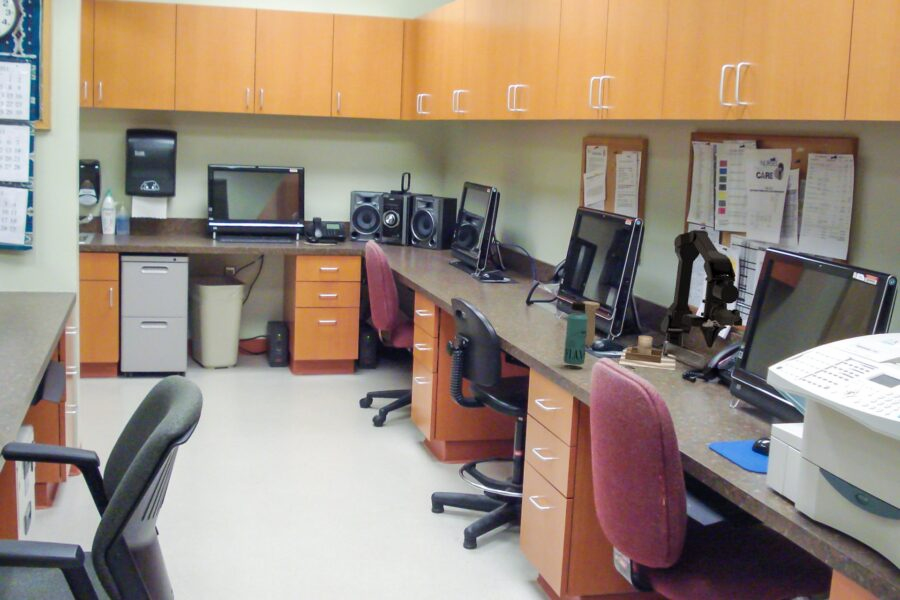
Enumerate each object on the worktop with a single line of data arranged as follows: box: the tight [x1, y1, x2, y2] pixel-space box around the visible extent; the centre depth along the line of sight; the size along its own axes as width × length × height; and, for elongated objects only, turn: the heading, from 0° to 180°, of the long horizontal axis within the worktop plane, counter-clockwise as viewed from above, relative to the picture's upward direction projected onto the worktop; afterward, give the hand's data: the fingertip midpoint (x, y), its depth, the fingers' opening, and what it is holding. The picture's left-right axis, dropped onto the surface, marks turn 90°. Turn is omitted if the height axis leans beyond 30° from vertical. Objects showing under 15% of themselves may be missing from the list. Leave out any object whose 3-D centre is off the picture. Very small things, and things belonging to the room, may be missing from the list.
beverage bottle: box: [563, 301, 588, 366], centre depth 296 cm, size 6×7×20 cm
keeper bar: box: [662, 340, 705, 367], centre depth 307 cm, size 21×2×4 cm, turn 21°
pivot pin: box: [637, 335, 654, 355], centre depth 312 cm, size 4×4×6 cm
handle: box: [582, 300, 601, 349], centre depth 326 cm, size 5×6×15 cm
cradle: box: [618, 345, 677, 371], centre depth 309 cm, size 22×17×3 cm
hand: (709, 347), depth 302 cm, fingers closed
